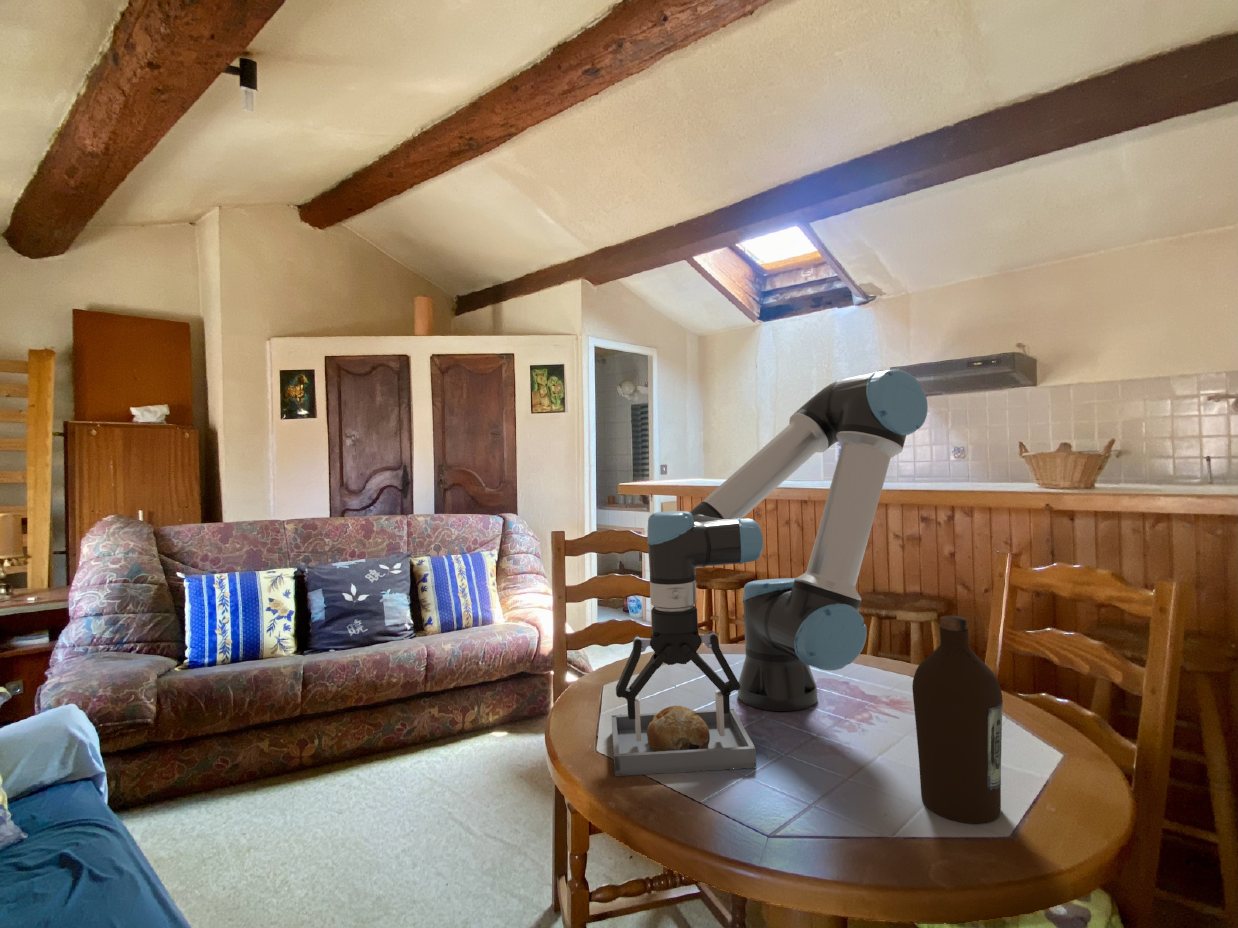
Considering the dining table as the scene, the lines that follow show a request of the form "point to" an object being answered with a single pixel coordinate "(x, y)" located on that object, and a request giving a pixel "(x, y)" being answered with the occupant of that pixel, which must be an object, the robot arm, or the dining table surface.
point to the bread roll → (677, 730)
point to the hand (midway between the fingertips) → (679, 735)
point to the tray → (717, 756)
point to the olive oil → (958, 729)
